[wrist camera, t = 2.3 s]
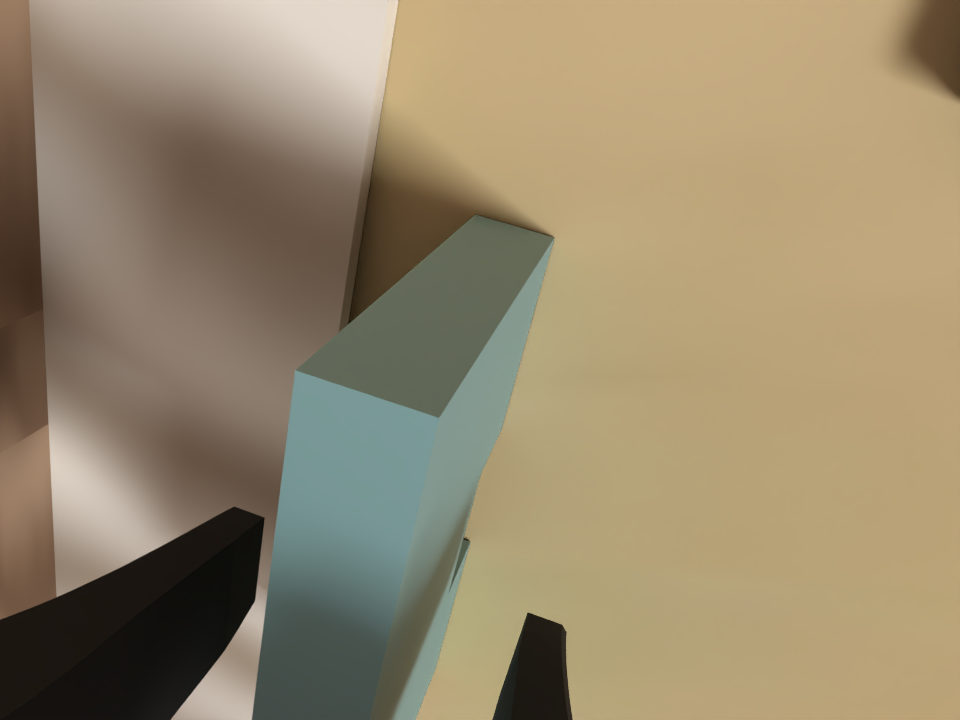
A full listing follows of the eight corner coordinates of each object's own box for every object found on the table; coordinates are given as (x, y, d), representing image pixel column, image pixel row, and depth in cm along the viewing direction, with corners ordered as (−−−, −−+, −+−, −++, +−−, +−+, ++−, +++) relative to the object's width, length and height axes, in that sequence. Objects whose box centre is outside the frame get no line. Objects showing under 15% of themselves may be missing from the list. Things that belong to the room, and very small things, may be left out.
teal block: (554, 237, 14) (439, 418, 8) (435, 669, 20) (304, 1000, 13) (475, 214, 14) (294, 370, 8) (378, 648, 20) (221, 962, 13)
